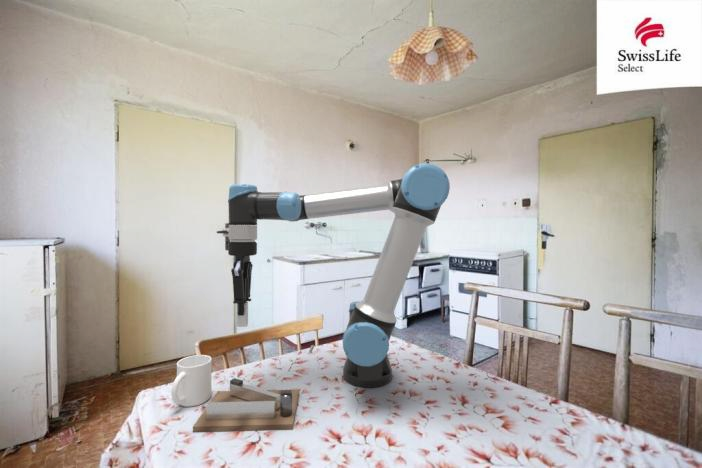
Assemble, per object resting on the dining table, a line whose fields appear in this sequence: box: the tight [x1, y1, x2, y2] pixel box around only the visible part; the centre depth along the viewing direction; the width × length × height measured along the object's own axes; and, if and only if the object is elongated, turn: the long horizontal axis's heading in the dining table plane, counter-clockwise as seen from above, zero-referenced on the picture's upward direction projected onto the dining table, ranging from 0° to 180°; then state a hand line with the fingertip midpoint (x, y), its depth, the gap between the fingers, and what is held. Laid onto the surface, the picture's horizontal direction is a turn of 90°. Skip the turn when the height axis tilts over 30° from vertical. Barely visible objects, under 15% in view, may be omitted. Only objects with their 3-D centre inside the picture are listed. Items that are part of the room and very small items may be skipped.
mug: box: [171, 354, 213, 408], centre depth 85 cm, size 12×8×10 cm
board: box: [192, 389, 300, 433], centre depth 82 cm, size 22×16×1 cm
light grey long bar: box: [229, 377, 280, 410], centre depth 84 cm, size 16×2×4 cm, turn 64°
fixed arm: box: [205, 391, 292, 420], centre depth 78 cm, size 19×3×5 cm, turn 94°
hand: (242, 325), depth 91 cm, fingers closed
